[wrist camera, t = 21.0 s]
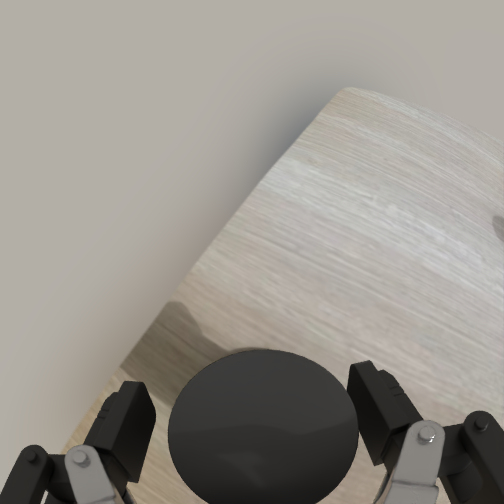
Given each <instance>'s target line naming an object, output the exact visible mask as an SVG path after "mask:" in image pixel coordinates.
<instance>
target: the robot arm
mask: <svg viewBox="0 0 504 504" xmlns="http://www.w3.org/2000/svg"><path fill="white" fill-rule="evenodd" d="M347 392H348V394H349V396H350V398H351V400H352V402H353V405H354V407H355V410H356V413H357V419H358V424H359V432H360V434H361V436H362V439H363V441H364V443H365V446H366V448H367V450H368V453H369V455H370V457H371V460H372V462H373V465H374V466H376V465H379V464H382V463H384V465H385V467H386V469H387V472H386V474H385V476H384V479H383V481H382V484H381V486H380V488H379V490H378V493H377V495H376V497H375V499H374V501H373V503H372V504H436V500H437V497H438V492H439V488H438V486H435V483H436V479H437V477H439V478H440V480H441V482H442V484H443V486H444V489H445V491H446V493H447V495H448V498H449V500H450V502H451V504H504V431H503V430H502V428H501V427H500V425H499V424H498V423H497V421H496V420H495V419H494V417H493V416H492V415H491V414H489V413H488V412H485V411H475V412H472V413H470V414H469V415H468V416H467V417H466V419H465V421H464V422H463V423H462V424H457V425H451V426H445V427H442V426H441V425H440V424H438V423H436V422H434V421H430V420H423V418H422V417H421V415H420V414H419V412H418V411H417V409H416V408H415V407H414V405H413V404H412V402H411V401H410V399H409V398H408V396H407V395H406V393H404V390H403V389H402V388H401V386H399V383H398V382H397V380H396V379H395V378H394V376H393V375H391V374H390V373H388V372H386V371H385V370H380V371H377V369H376V368H375V366H374V365H373V363H372V362H371V361H370V360H368V361H364V362H360V363H355V364H351V366H350V371H349V378H348V385H347ZM155 422H156V411H155V407H154V405H153V403H152V400H151V398H150V396H149V393H148V391H147V388H146V386H145V384H144V383H143V382H135V381H124V382H123V384H122V386H121V388H120V390H119V392H114V393H112V394H111V395H110V396H109V397H108V398H107V399H106V400H105V402H104V404H103V406H102V407H101V411H99V413H98V415H97V418H96V419H95V421H94V423H93V425H92V427H91V429H90V431H89V433H88V435H87V437H86V439H85V441H84V443H83V445H77V446H74V447H73V448H71V449H70V450H69V451H68V452H67V453H66V454H65V455H58V454H56V455H55V454H48V453H47V452H46V451H45V450H44V449H43V448H42V447H41V446H39V445H30V446H27V447H26V448H24V449H23V450H22V451H21V453H20V455H19V457H18V459H17V461H16V463H15V465H14V467H13V469H12V471H11V473H10V475H9V477H8V479H7V481H6V483H5V486H4V488H3V490H2V492H1V494H0V504H40V503H41V501H42V498H43V495H44V492H45V490H46V491H47V492H48V495H47V498H46V501H45V503H44V504H137V503H136V501H135V499H134V497H133V496H132V494H131V492H130V490H129V489H128V487H127V486H126V485H127V482H128V481H129V482H134V483H138V481H139V478H140V474H141V470H142V467H143V463H144V460H145V456H146V452H147V449H148V445H149V442H150V439H151V435H152V432H153V428H154V425H155Z"/></svg>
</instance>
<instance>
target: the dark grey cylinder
mask: <svg viewBox="0 0 504 504" xmlns="http://www.w3.org/2000/svg"><path fill="white" fill-rule="evenodd" d="M358 439H359V424H358V419H357V413H356V410H355V407H354V405H353V402H352V400H351V398H350V396H349V394H348V392H347V391H346V390H345V388H344V387H343V385H342V384H341V383H340V382H339V381H338V380H337V379H336V378H335V376H334V375H332V374H331V373H330V372H329V371H327V370H326V369H325V368H324V367H322V366H320V365H319V364H317V363H316V362H314V361H312V360H310V359H307V358H305V357H303V356H300V355H297V354H294V353H290V352H285V351H280V350H251V351H244V352H240V353H236V354H232V355H229V356H227V357H224V358H222V359H219V360H217V361H216V362H214V363H212V364H210V365H208V366H207V367H205V368H204V369H203V370H201V371H200V372H199V373H197V374H196V375H195V376H194V377H193V378H192V379H191V380H190V381H189V382H188V383H187V385H186V386H185V387H184V388H183V390H182V391H181V393H180V394H179V396H178V398H177V399H176V402H175V404H174V406H173V408H172V412H171V415H170V419H169V425H168V444H169V450H170V454H171V458H172V461H173V463H174V465H175V468H176V470H177V472H178V473H179V475H180V476H181V478H182V479H183V481H184V482H185V483H186V485H187V486H188V487H189V488H190V489H191V490H192V491H193V492H194V493H195V494H196V495H198V496H199V497H200V498H201V499H203V500H204V501H206V502H207V503H209V504H316V503H318V502H319V501H321V500H322V499H323V498H325V497H326V496H327V495H329V494H330V493H331V492H332V491H333V490H334V489H335V488H336V487H337V486H338V485H339V483H340V482H341V481H342V480H343V478H344V477H345V475H346V474H347V472H348V470H349V469H350V467H351V465H352V462H353V460H354V458H355V454H356V450H357V447H358Z"/></svg>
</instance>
